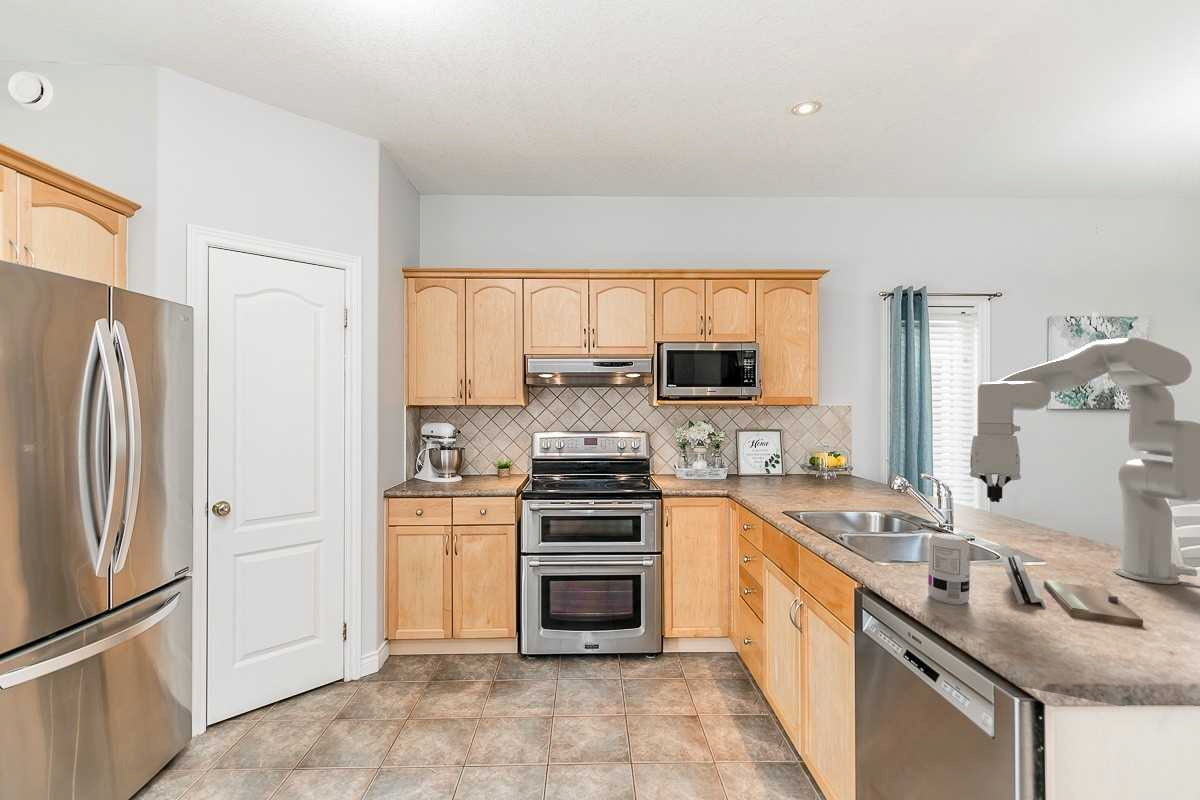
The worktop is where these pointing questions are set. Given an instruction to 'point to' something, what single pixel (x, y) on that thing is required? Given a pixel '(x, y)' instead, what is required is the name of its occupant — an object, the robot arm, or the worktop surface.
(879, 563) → the worktop surface
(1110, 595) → the door panel
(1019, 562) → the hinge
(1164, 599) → the worktop surface
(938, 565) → the supplement can
